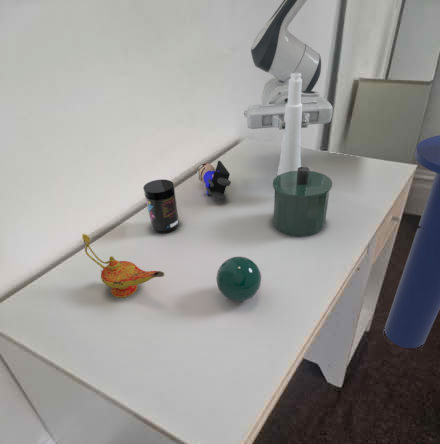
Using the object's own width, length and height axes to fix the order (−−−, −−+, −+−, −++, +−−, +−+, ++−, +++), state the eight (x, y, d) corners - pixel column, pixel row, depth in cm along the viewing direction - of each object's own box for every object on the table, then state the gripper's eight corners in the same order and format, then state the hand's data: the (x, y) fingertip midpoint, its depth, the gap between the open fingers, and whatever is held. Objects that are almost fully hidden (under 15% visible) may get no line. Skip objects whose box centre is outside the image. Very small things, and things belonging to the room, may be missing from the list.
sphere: (236, 317, 64) (234, 281, 59) (209, 294, 69) (205, 259, 64) (270, 297, 68) (271, 262, 62) (242, 276, 73) (241, 242, 67)
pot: (297, 206, 92) (300, 169, 86) (334, 223, 85) (341, 184, 79) (263, 222, 87) (263, 184, 81) (299, 242, 80) (303, 202, 74)
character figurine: (209, 209, 95) (198, 185, 106) (236, 202, 95) (222, 179, 107) (204, 180, 90) (192, 158, 101) (233, 173, 90) (218, 152, 101)
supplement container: (163, 217, 92) (156, 177, 86) (185, 223, 89) (179, 182, 83) (146, 230, 88) (136, 189, 81) (168, 237, 85) (160, 195, 78)
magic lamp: (159, 315, 66) (147, 266, 59) (84, 289, 73) (65, 242, 65) (179, 292, 70) (171, 243, 63) (106, 270, 77) (91, 223, 70)
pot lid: (300, 170, 87) (302, 152, 84) (344, 187, 79) (347, 168, 76) (260, 187, 82) (260, 169, 79) (303, 207, 74) (305, 187, 71)
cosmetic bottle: (299, 180, 89) (308, 77, 75) (275, 178, 91) (278, 77, 76) (303, 170, 94) (312, 70, 79) (279, 168, 95) (284, 70, 81)
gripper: (242, 97, 92) (248, 113, 82) (324, 90, 92) (340, 106, 81) (243, 124, 96) (248, 142, 86) (321, 117, 96) (336, 135, 86)
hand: (294, 125), depth 84 cm, fingers closed on cosmetic bottle, 3 cm apart
